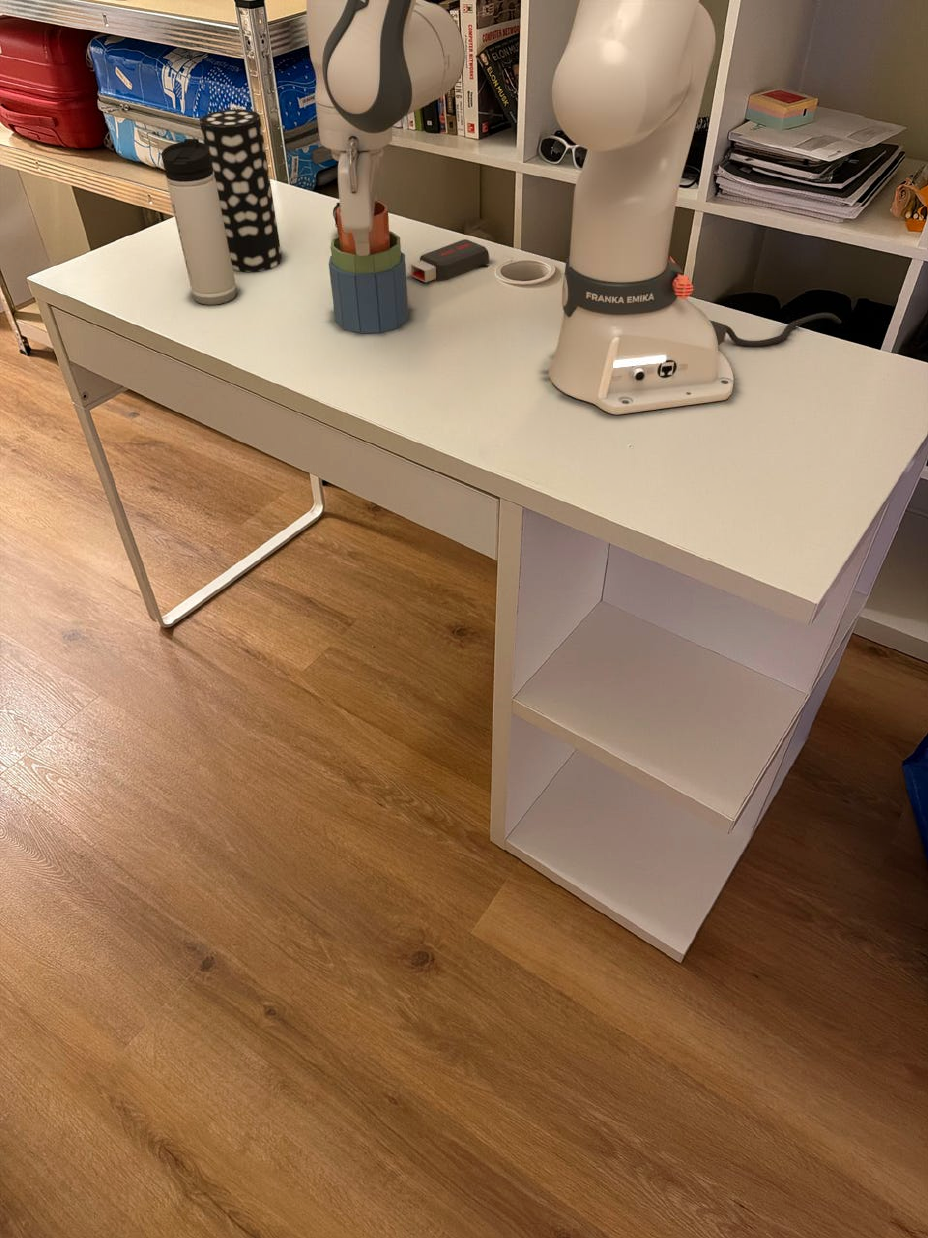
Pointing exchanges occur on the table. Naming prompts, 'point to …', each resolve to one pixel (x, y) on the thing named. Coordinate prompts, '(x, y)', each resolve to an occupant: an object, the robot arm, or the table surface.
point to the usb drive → (450, 261)
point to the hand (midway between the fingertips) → (365, 241)
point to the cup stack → (369, 288)
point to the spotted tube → (243, 187)
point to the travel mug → (199, 221)
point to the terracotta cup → (377, 234)
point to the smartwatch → (336, 215)
